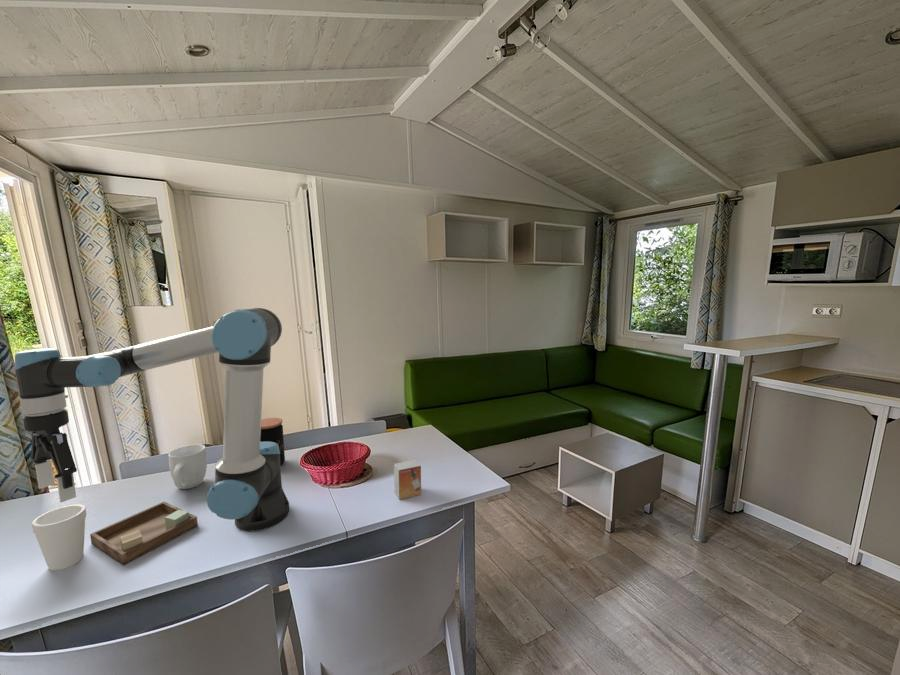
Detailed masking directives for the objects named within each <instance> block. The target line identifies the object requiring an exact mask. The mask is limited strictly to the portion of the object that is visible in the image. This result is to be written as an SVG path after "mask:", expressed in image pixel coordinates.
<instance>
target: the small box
mask: <svg viewBox="0 0 900 675" xmlns="http://www.w3.org/2000/svg"><path fill="white" fill-rule="evenodd" d="M393 468H394V469H393V472H394V473H393V474H394V478H393V479H394V480H393V481H394V482H393V483H394V493H395V495H396V497H397V498H398V500H404V499H407V498H411V497H417V496H421V495H422V466H421V464H420V463H419V461H417V459H413V460H408V461H402V462H396V463H393Z"/></svg>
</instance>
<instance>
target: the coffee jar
mask: <svg viewBox="0 0 900 675" xmlns="http://www.w3.org/2000/svg"><path fill="white" fill-rule="evenodd" d="M282 423H283V418H280V417H268V418H261V434H260V442H275V443H277V444H278V446H279V451H280V465H281V467H283V465H284V463H285V462H286V459H285V458H286V456H285V444H284V443H285V441H284V440H285V438H284V427H283V424H282Z"/></svg>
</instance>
